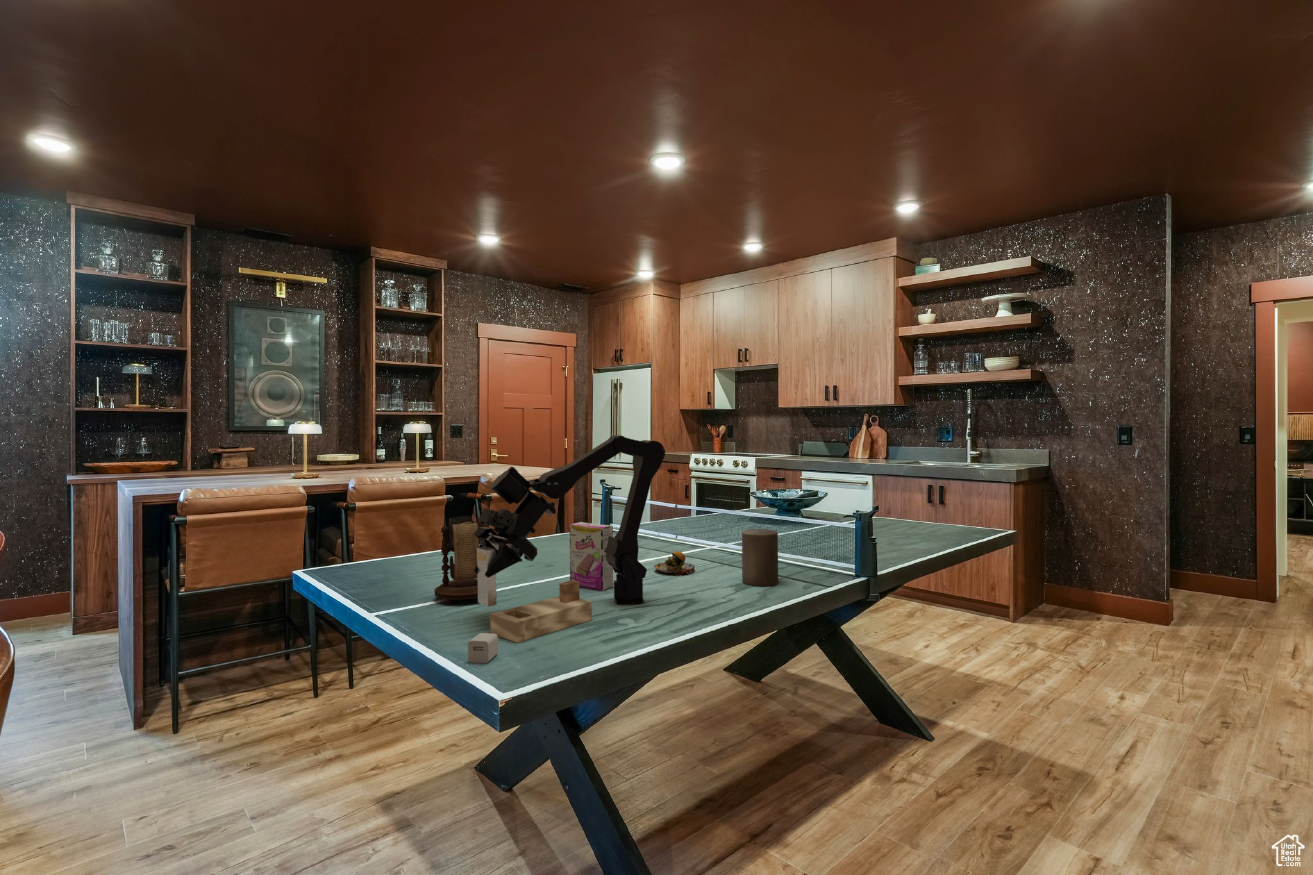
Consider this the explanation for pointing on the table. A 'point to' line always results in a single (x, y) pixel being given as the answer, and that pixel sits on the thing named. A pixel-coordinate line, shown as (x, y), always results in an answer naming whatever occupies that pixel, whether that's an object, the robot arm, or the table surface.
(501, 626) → the hand plane
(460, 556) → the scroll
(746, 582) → the pillar candle
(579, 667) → the table surface
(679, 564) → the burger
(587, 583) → the candy bar box
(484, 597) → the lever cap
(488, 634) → the usb wall charger
